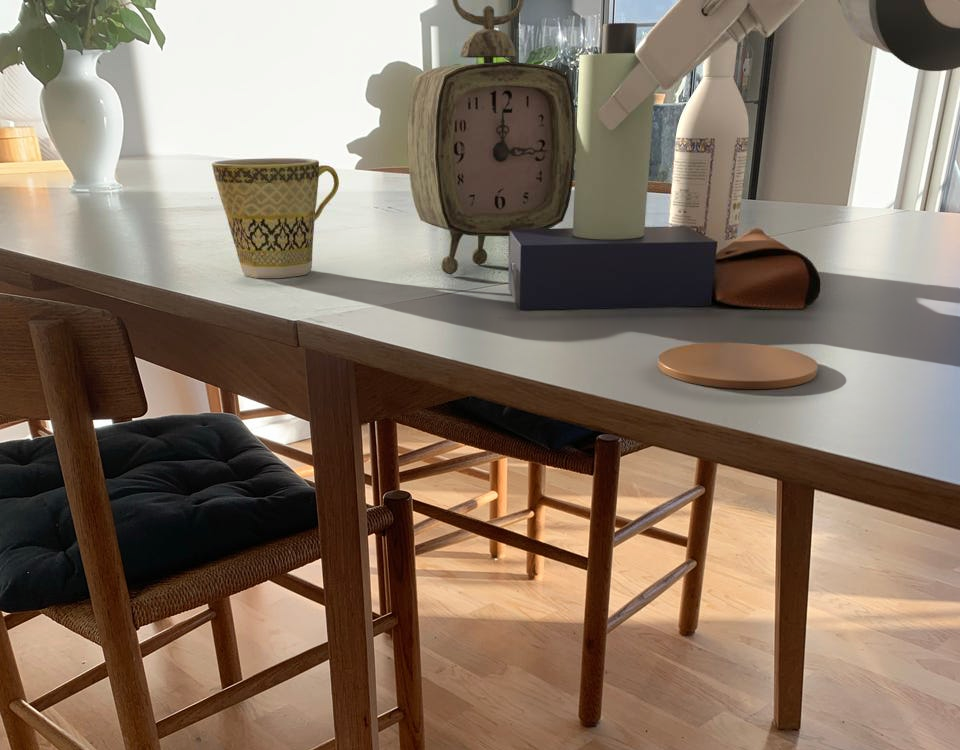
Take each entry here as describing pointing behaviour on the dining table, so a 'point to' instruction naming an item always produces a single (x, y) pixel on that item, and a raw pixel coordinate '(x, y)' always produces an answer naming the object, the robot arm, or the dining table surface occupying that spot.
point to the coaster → (738, 365)
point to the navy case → (610, 269)
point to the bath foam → (711, 153)
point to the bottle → (611, 145)
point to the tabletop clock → (490, 141)
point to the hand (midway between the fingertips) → (606, 121)
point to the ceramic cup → (272, 212)
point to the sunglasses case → (764, 274)
